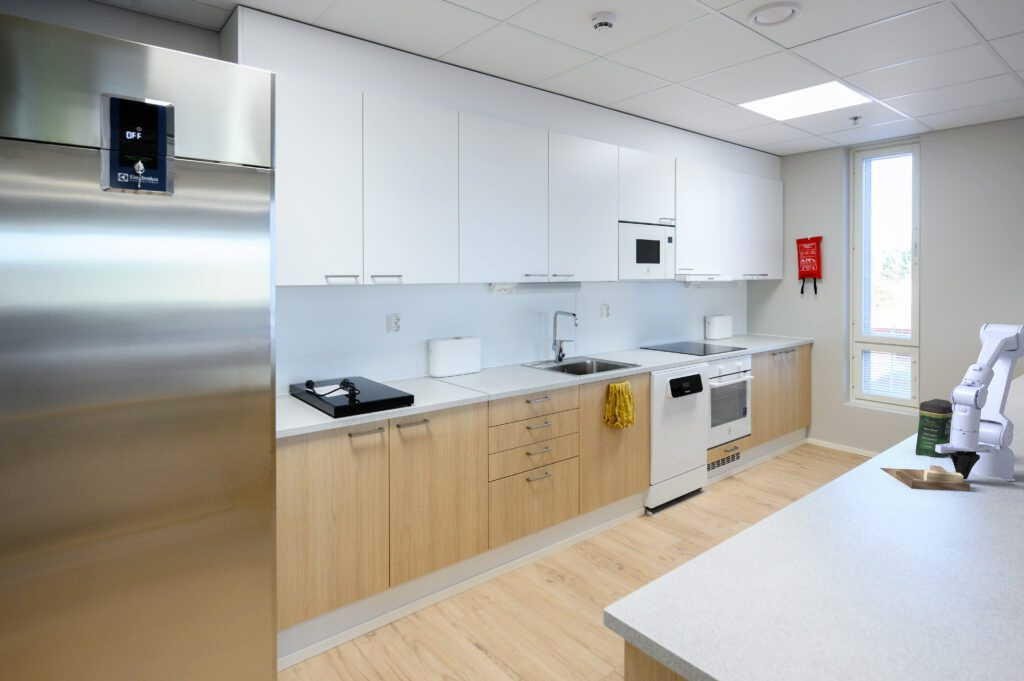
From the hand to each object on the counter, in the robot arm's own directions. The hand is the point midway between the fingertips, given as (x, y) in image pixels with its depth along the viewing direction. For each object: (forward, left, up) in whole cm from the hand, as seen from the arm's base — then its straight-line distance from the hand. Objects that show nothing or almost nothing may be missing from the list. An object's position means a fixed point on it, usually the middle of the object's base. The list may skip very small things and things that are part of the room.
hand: (961, 478), depth 157 cm
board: (+10, -1, -2) cm, 10 cm away
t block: (+7, +2, -1) cm, 7 cm away
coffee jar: (-7, -27, -2) cm, 28 cm away
